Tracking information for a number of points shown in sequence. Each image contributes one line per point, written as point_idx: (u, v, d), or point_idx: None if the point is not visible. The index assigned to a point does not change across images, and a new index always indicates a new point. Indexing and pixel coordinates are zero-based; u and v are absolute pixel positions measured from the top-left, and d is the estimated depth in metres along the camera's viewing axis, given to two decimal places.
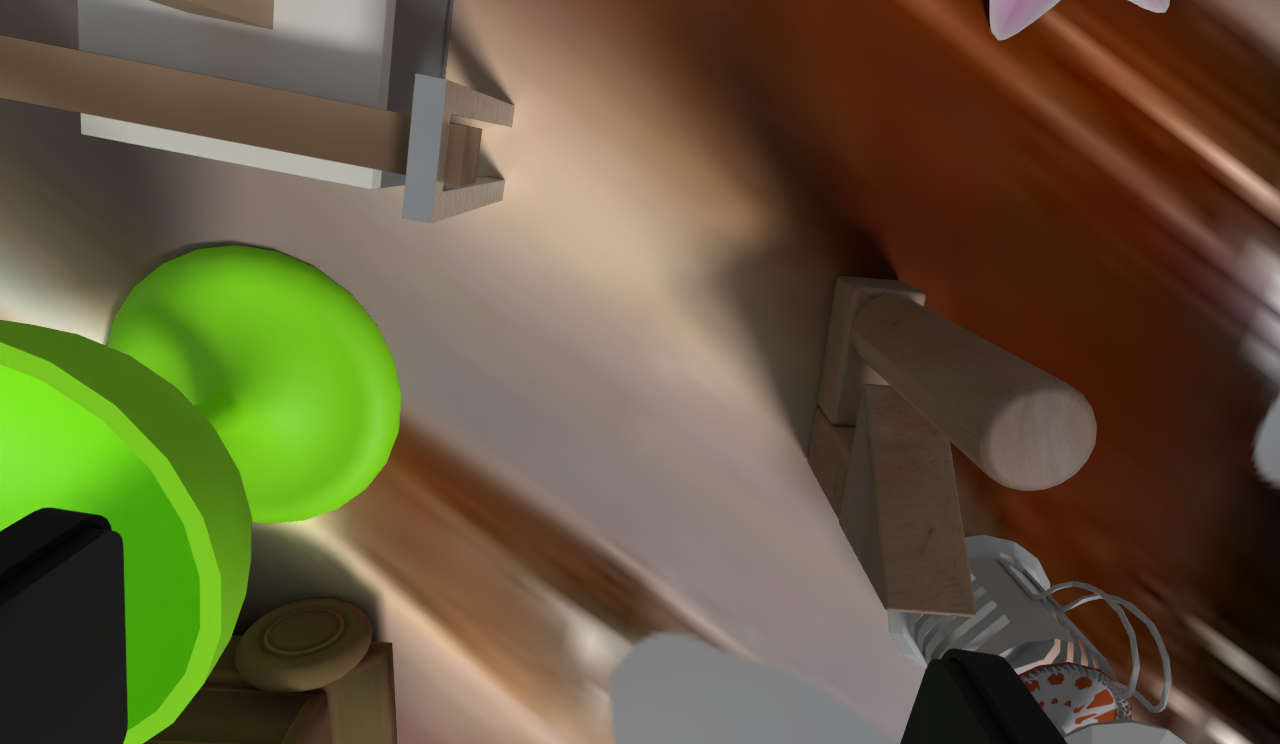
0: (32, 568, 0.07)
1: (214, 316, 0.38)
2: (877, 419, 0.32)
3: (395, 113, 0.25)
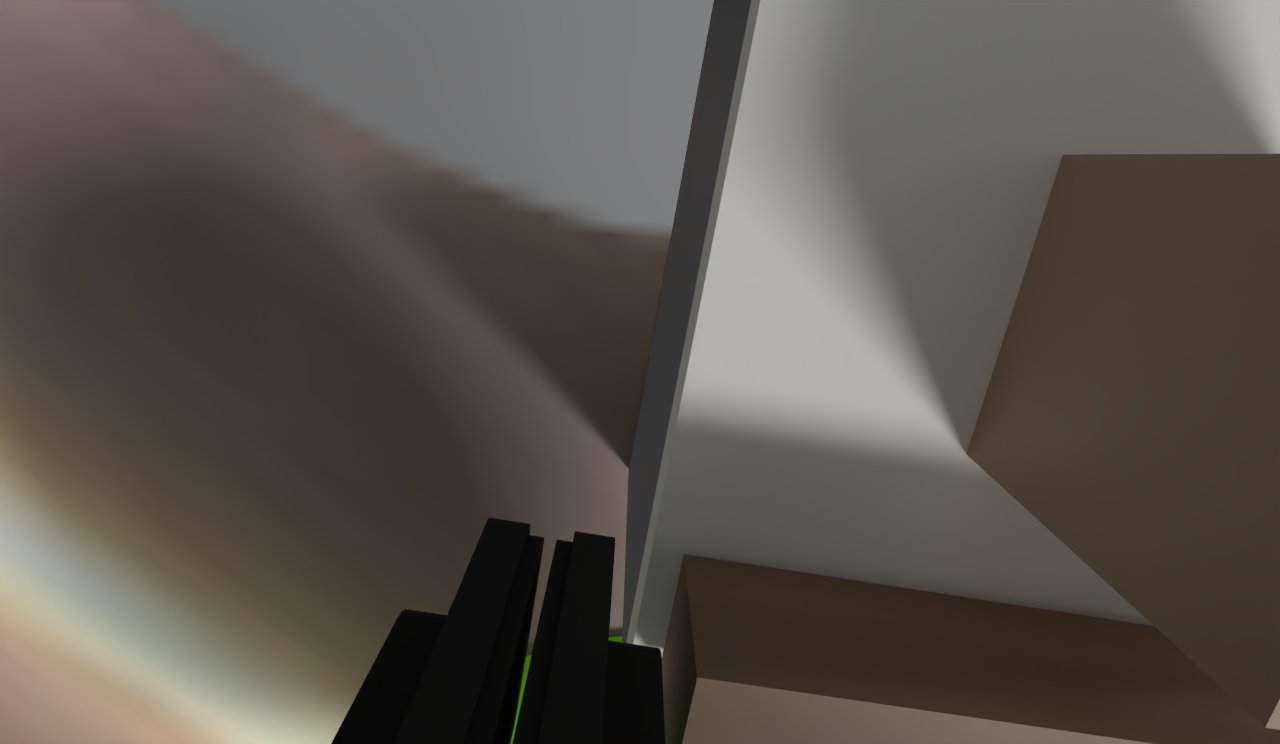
0: (521, 569, 0.08)
1: None
2: None
3: None
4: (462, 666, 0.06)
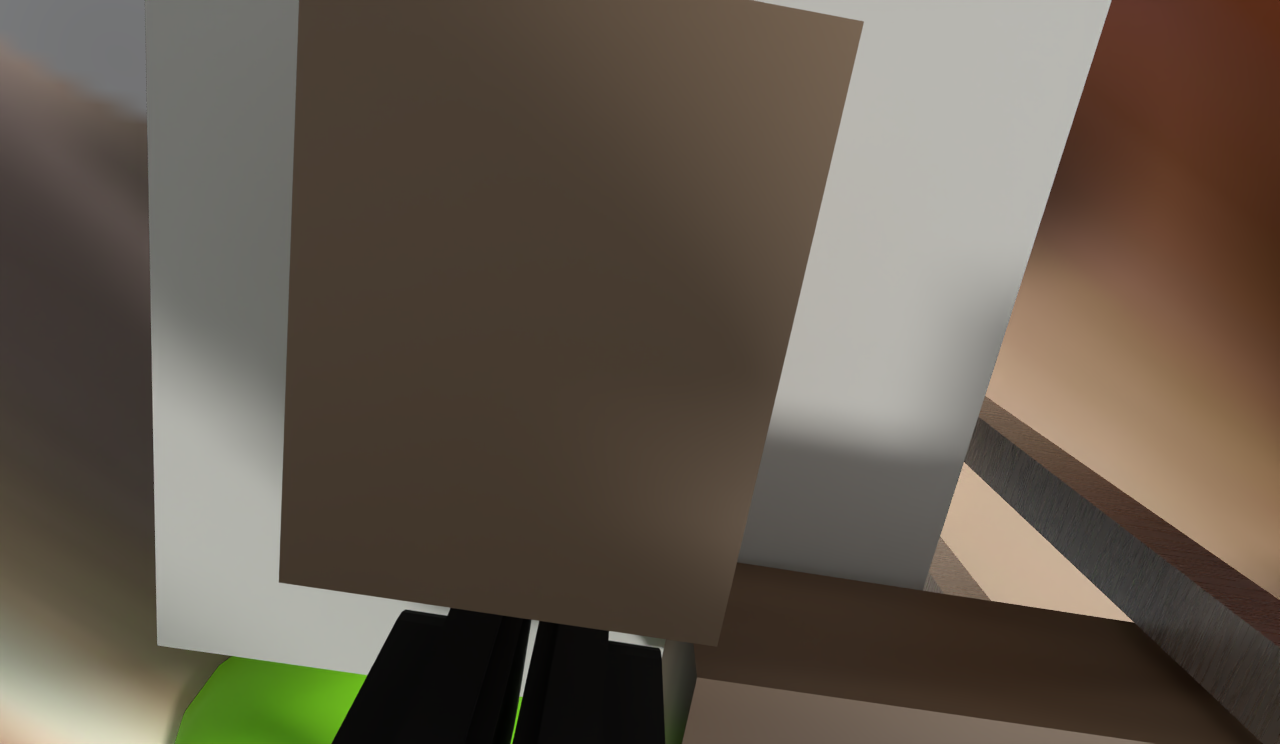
0: None
1: None
2: None
3: None
4: (462, 666, 0.06)
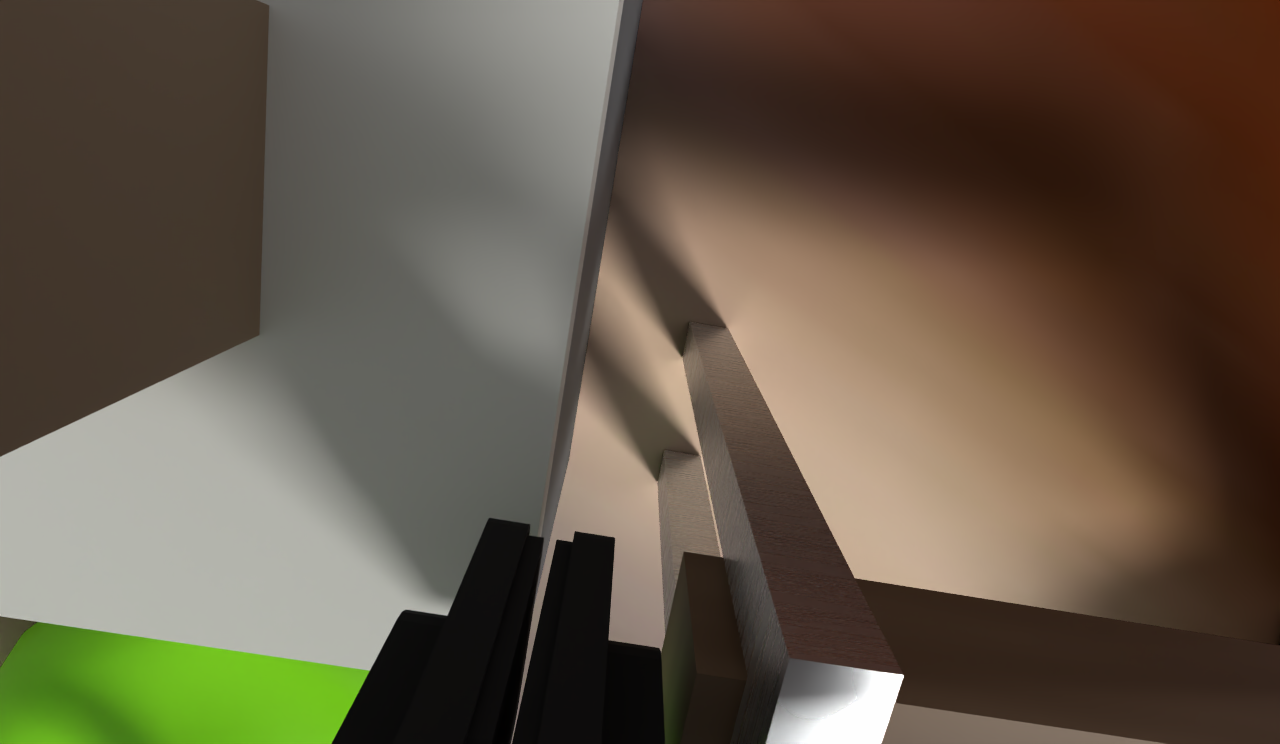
0: (522, 569, 0.08)
1: (165, 696, 0.21)
2: None
3: None
4: (462, 666, 0.06)
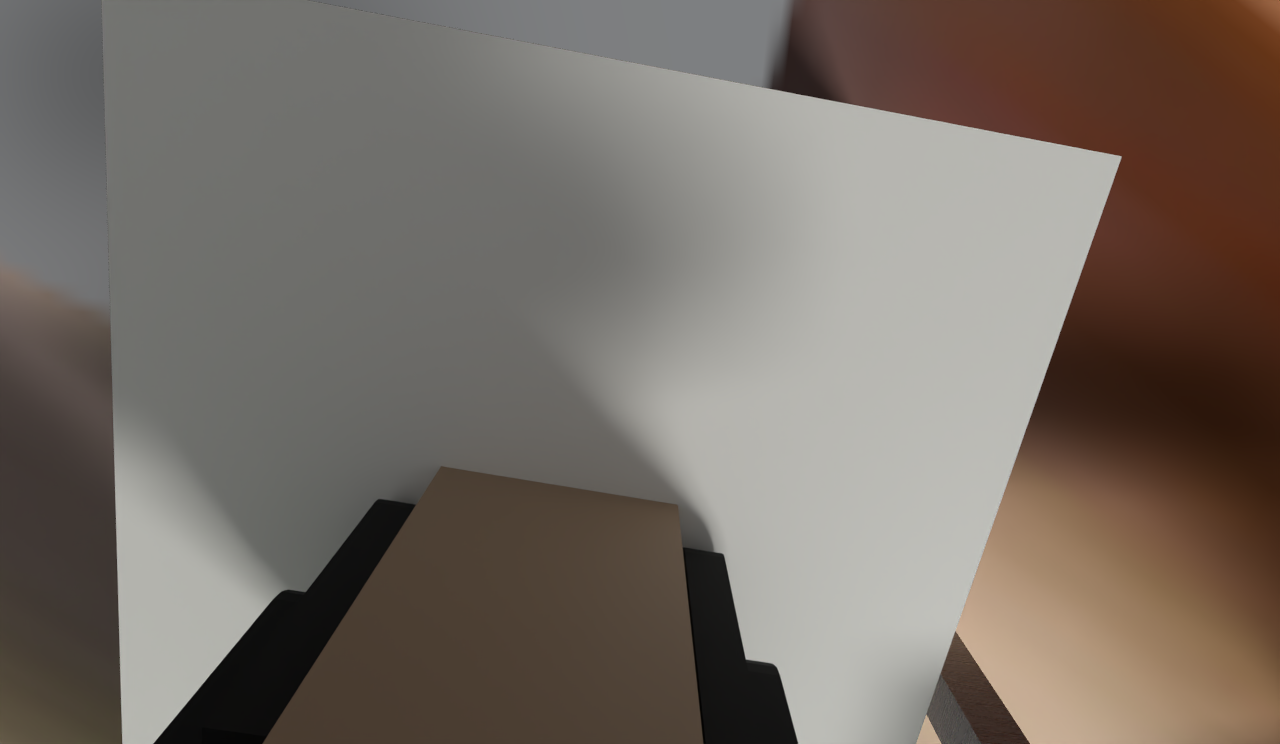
0: None
1: None
2: None
3: None
4: (307, 640, 0.06)
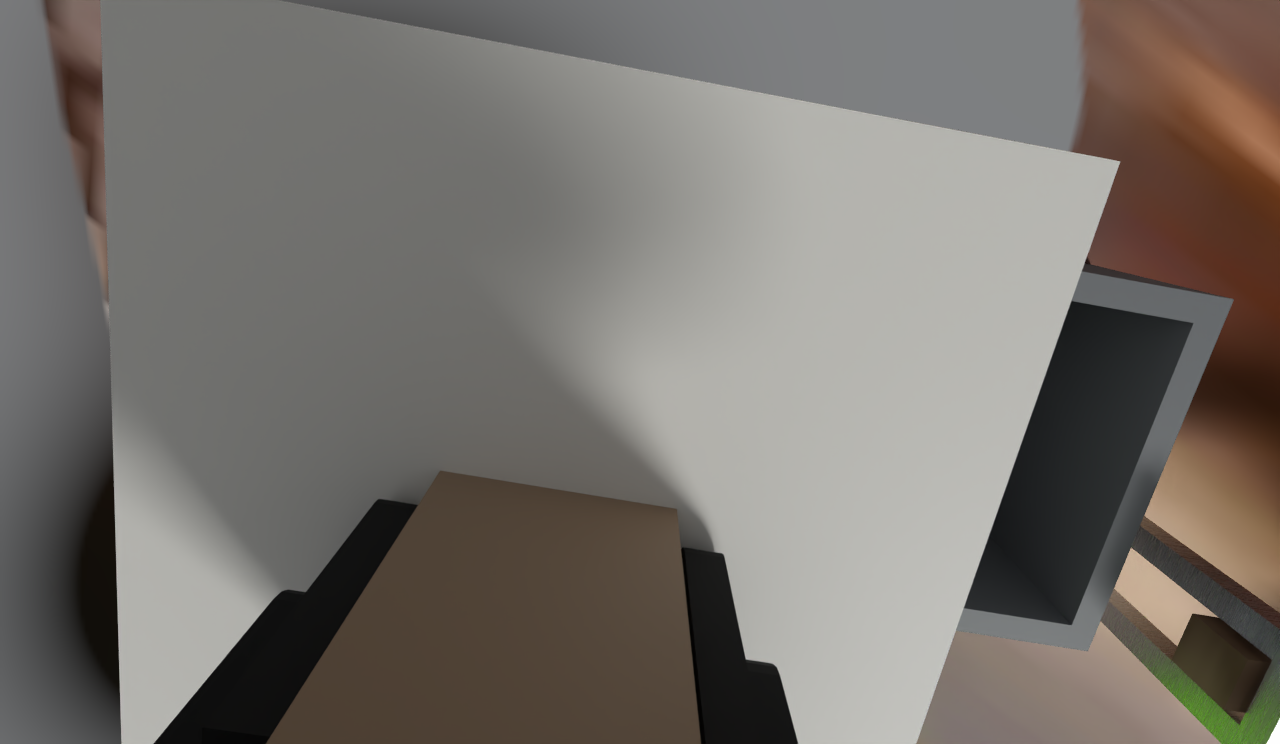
0: None
1: None
2: None
3: None
4: (307, 640, 0.06)
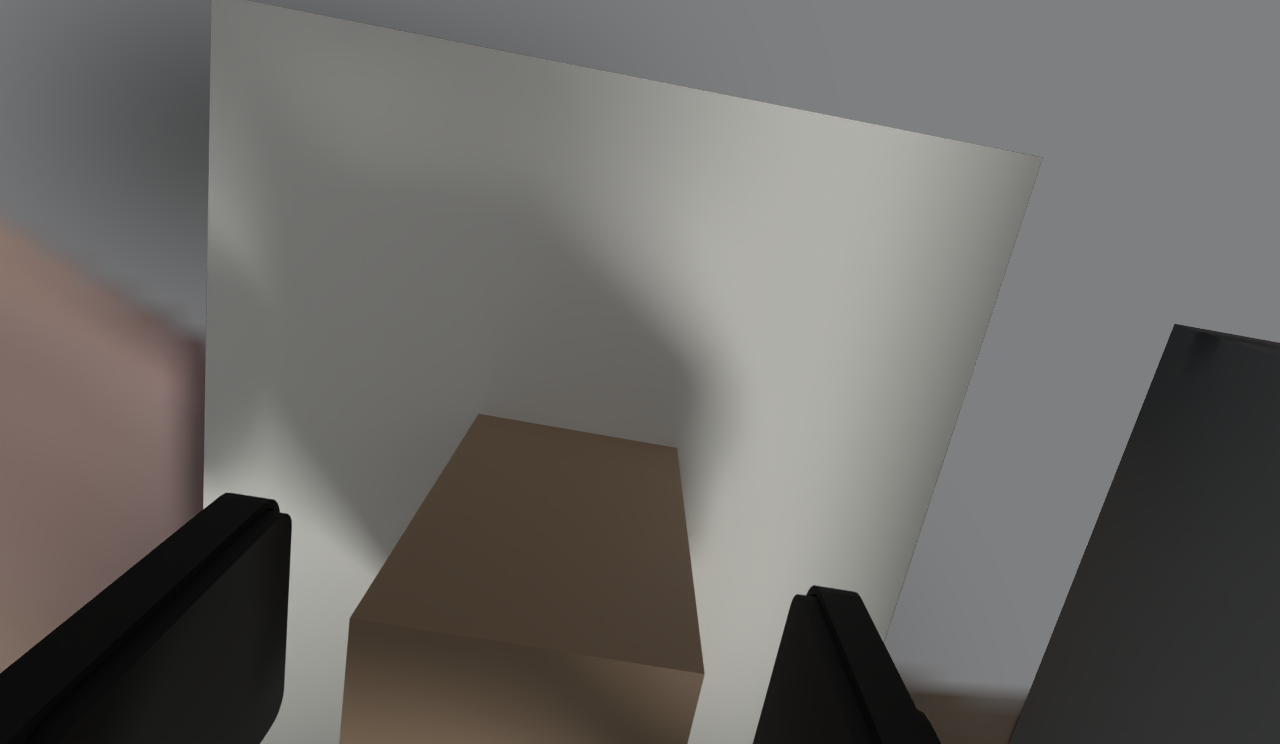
0: (235, 544, 0.08)
1: None
2: None
3: None
4: (83, 643, 0.06)
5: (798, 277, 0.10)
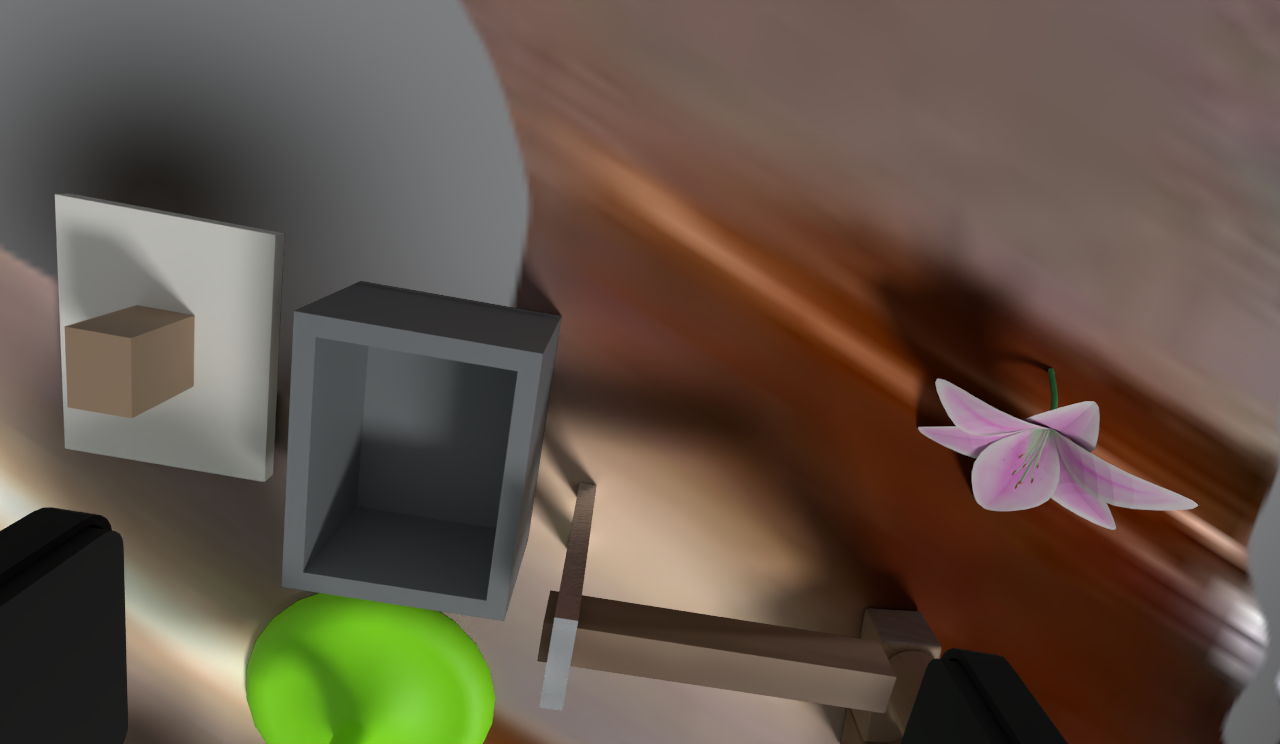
0: (32, 568, 0.07)
1: (342, 647, 0.45)
2: None
3: (843, 668, 0.33)
4: None
5: (218, 266, 0.38)
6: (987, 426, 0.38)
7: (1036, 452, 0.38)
